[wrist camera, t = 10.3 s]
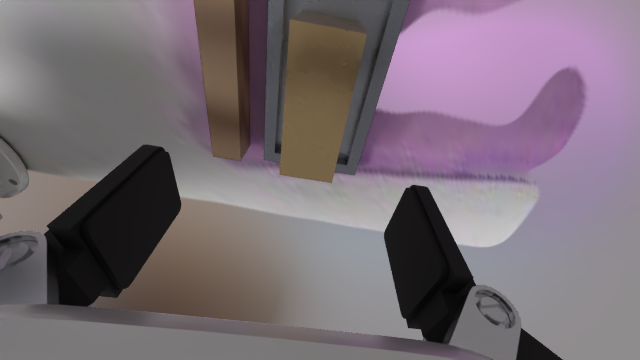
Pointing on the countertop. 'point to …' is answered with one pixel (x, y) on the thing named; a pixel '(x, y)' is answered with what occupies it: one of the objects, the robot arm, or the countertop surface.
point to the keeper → (382, 34)
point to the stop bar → (318, 92)
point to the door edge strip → (225, 73)
